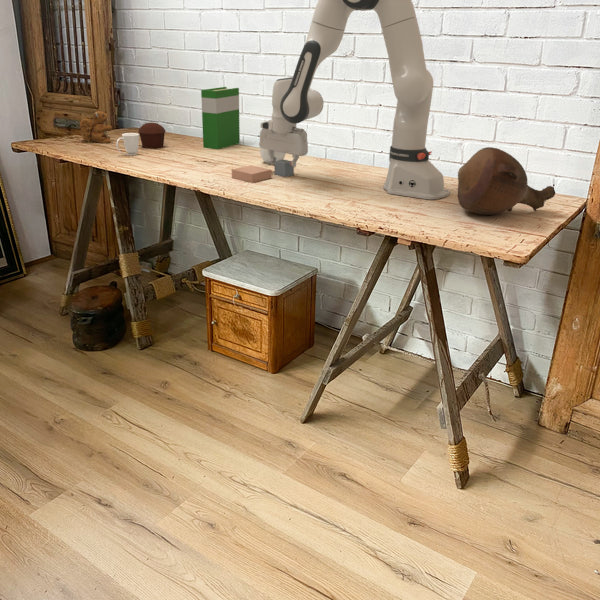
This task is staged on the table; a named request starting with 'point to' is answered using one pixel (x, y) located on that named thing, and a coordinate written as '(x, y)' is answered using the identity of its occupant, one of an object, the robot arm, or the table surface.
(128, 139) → the cup
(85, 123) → the stuffed squirrel
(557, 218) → the table surface
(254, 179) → the pedestal
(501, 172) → the brown bulbous piece
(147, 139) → the muffin
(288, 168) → the cube
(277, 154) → the lidded jar
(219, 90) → the hardback book
